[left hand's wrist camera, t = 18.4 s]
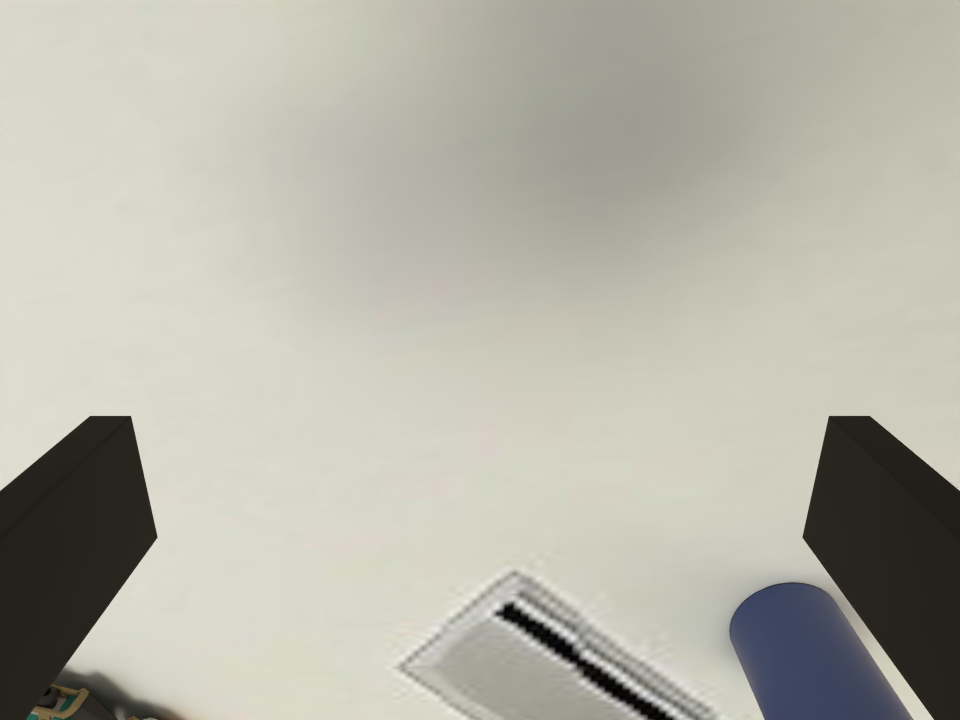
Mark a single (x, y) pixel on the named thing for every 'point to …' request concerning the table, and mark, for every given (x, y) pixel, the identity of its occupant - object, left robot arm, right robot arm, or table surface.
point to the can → (808, 659)
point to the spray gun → (70, 706)
